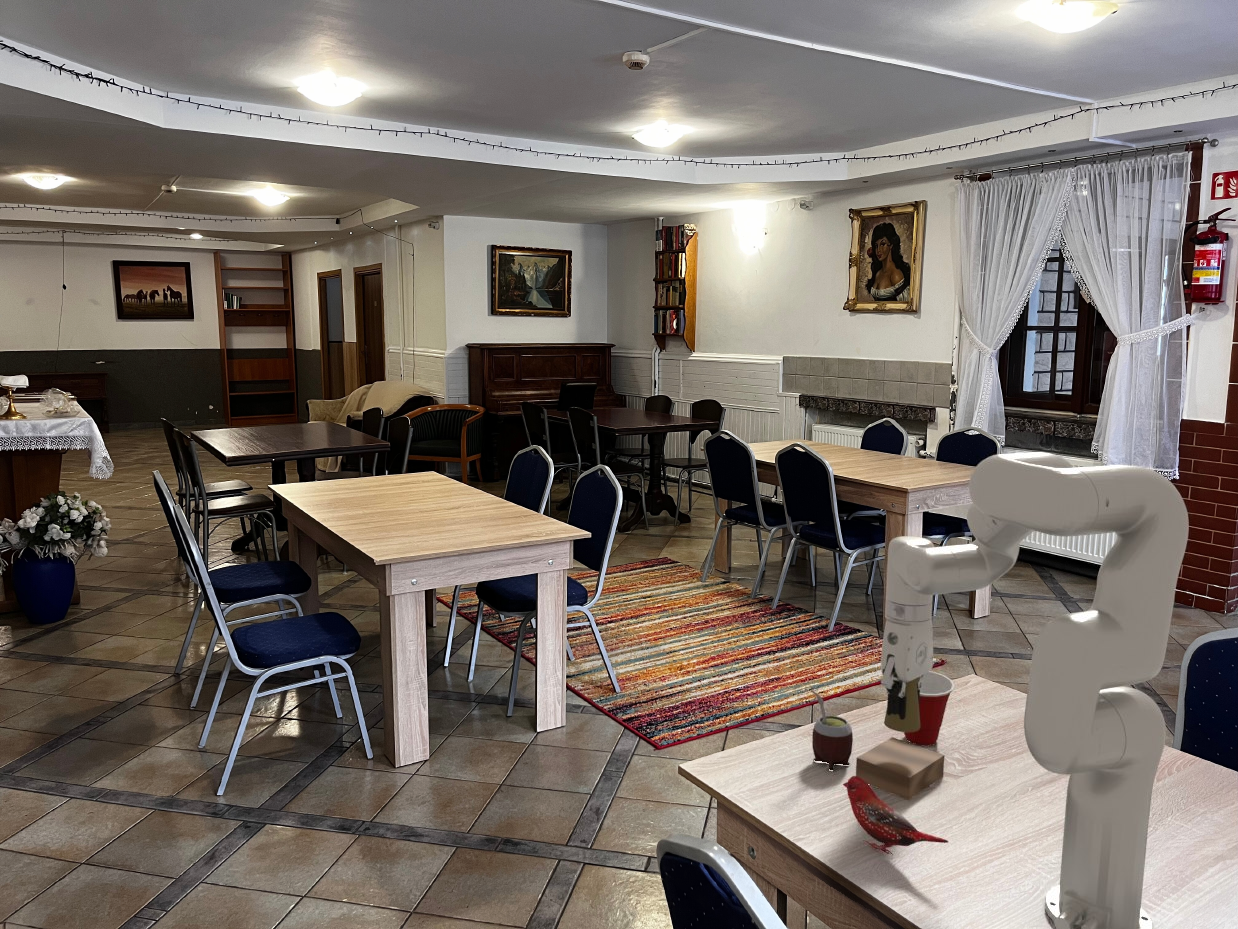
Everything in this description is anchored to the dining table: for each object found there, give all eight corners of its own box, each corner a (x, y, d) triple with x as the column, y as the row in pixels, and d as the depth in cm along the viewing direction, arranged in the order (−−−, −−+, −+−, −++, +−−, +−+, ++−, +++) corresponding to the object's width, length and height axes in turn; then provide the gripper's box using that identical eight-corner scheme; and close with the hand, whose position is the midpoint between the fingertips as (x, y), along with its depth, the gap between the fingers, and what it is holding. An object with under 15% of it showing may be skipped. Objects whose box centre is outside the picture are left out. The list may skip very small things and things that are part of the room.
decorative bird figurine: (846, 828, 143) (848, 768, 142) (951, 879, 130) (955, 812, 129) (834, 835, 142) (837, 773, 140) (941, 886, 128) (945, 819, 127)
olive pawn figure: (922, 733, 155) (925, 671, 154) (885, 730, 156) (888, 668, 155) (918, 719, 161) (921, 659, 160) (882, 716, 162) (885, 656, 161)
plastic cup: (890, 748, 172) (893, 686, 170) (891, 725, 182) (894, 667, 180) (952, 756, 169) (956, 693, 167) (949, 732, 179) (953, 673, 177)
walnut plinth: (908, 800, 152) (909, 777, 152) (855, 779, 160) (856, 757, 159) (943, 776, 161) (944, 755, 160) (891, 758, 168) (892, 737, 167)
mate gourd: (851, 757, 168) (855, 678, 166) (851, 777, 160) (855, 695, 158) (809, 752, 170) (812, 674, 168) (807, 772, 162) (810, 690, 160)
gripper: (903, 625, 148) (898, 734, 150) (952, 605, 159) (946, 706, 162) (862, 615, 153) (857, 720, 155) (912, 596, 164) (907, 694, 167)
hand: (902, 712), depth 158 cm, fingers closed on olive pawn figure, 3 cm apart
